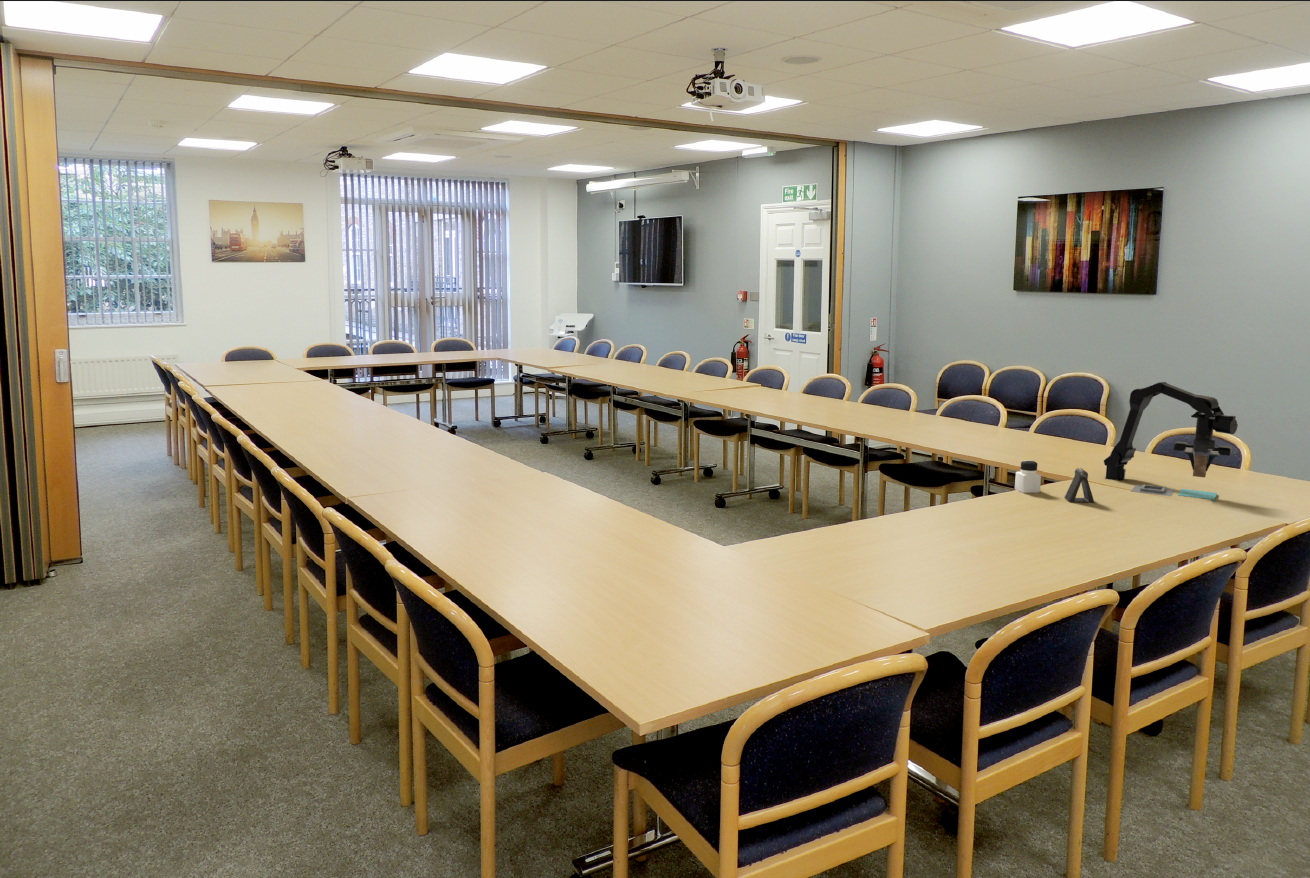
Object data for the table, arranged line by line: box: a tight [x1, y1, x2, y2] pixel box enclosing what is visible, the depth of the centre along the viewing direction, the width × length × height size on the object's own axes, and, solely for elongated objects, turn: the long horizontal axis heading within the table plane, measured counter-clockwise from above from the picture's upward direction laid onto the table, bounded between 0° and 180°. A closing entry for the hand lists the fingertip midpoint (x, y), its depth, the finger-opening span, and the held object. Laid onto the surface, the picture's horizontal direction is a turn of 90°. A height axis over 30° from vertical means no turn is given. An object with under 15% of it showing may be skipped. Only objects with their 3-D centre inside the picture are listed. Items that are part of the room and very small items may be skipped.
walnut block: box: [1192, 453, 1209, 478], centre depth 350 cm, size 4×4×8 cm
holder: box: [1130, 484, 1176, 497], centre depth 359 cm, size 14×14×2 cm
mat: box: [1177, 488, 1218, 502], centre depth 352 cm, size 12×12×1 cm
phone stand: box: [1064, 467, 1095, 504], centre depth 345 cm, size 9×6×12 cm, turn 81°
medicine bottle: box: [1014, 459, 1042, 494], centre depth 360 cm, size 7×7×12 cm
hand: (1199, 470), depth 350 cm, fingers closed on walnut block, 4 cm apart
